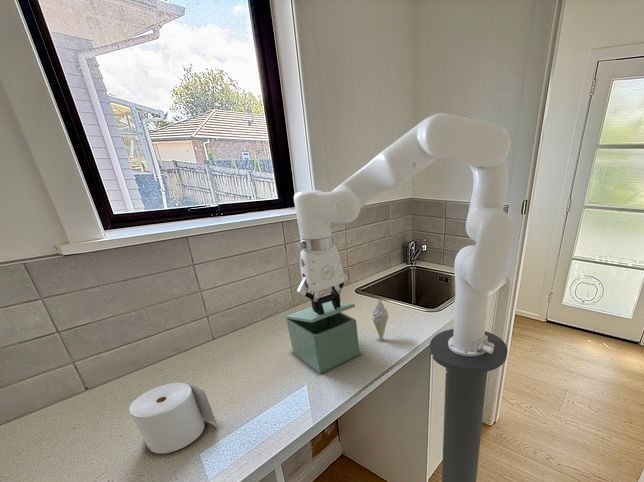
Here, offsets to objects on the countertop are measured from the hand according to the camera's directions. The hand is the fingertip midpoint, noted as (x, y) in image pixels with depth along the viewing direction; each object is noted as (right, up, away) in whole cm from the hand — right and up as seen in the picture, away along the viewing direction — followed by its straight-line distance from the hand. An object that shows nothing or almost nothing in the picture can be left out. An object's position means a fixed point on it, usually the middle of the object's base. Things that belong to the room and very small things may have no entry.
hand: (327, 308), depth 91 cm
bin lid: (-3, -1, +4) cm, 5 cm away
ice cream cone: (+13, -10, +17) cm, 24 cm away
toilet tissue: (-28, -28, -18) cm, 43 cm away
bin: (-3, -13, +10) cm, 17 cm away
